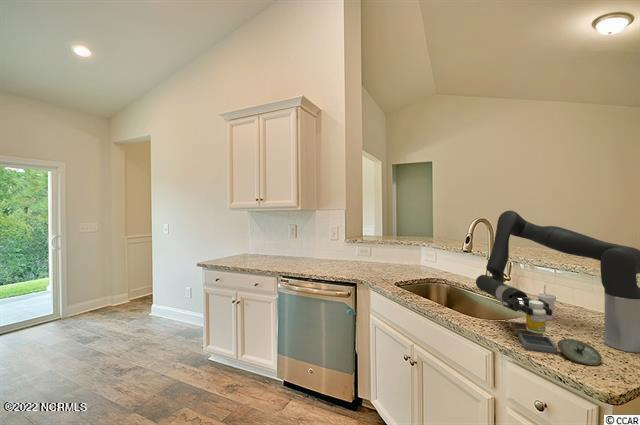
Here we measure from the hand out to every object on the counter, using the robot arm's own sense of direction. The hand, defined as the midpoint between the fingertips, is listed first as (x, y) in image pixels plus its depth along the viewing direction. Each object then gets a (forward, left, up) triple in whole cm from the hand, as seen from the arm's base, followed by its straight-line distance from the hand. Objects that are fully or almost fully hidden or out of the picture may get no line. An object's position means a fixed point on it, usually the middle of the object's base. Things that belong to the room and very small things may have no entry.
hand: (541, 312), depth 98 cm
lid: (-9, +3, -12) cm, 16 cm away
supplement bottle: (+1, -2, -7) cm, 8 cm away
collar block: (+1, -14, -12) cm, 19 cm away
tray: (+1, -2, -12) cm, 12 cm away
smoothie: (-10, -33, -12) cm, 37 cm away
